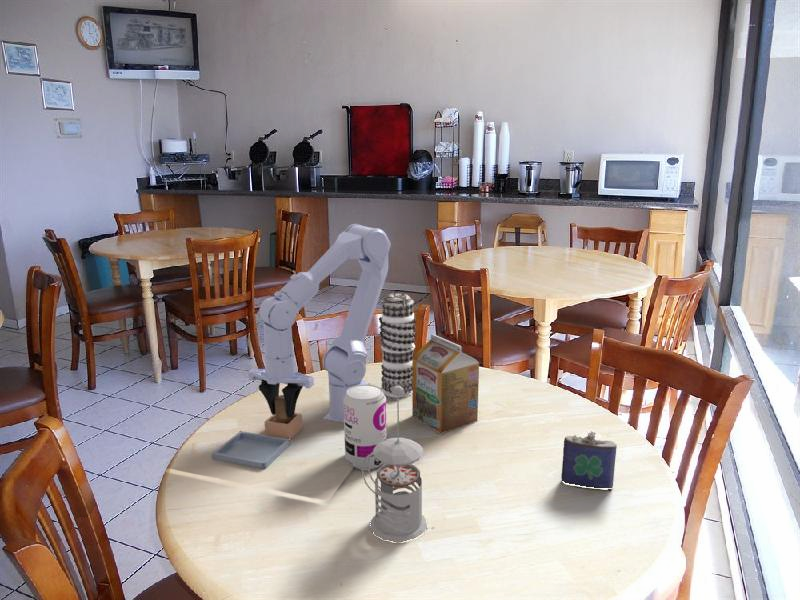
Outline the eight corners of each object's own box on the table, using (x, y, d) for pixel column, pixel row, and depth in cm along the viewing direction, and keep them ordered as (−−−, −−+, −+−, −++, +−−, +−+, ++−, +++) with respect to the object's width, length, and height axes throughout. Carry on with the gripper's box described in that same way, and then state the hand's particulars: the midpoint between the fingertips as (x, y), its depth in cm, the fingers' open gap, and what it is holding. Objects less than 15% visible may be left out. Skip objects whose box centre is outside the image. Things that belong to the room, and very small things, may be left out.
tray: (290, 447, 127) (290, 439, 126) (265, 471, 118) (264, 463, 117) (240, 438, 131) (240, 430, 130) (212, 461, 122) (211, 453, 121)
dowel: (294, 429, 133) (292, 396, 131) (287, 436, 130) (284, 402, 128) (281, 427, 134) (279, 394, 132) (273, 434, 131) (271, 400, 129)
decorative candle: (409, 400, 148) (409, 302, 142) (374, 395, 152) (372, 298, 145) (421, 386, 157) (422, 292, 150) (388, 381, 160) (387, 289, 153)
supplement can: (393, 455, 123) (392, 387, 119) (374, 475, 116) (373, 403, 112) (358, 447, 127) (356, 380, 123) (338, 466, 120) (335, 396, 116)
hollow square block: (302, 430, 134) (301, 413, 133) (289, 442, 129) (288, 425, 128) (279, 426, 136) (278, 410, 135) (265, 438, 131) (264, 421, 129)
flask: (612, 484, 113) (617, 432, 110) (613, 493, 110) (618, 439, 107) (561, 477, 115) (564, 426, 112) (560, 485, 113) (564, 433, 110)
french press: (408, 551, 95) (408, 404, 89) (349, 527, 101) (344, 388, 95) (438, 518, 103) (440, 382, 97) (381, 497, 109) (379, 367, 103)
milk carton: (477, 420, 138) (479, 341, 133) (440, 433, 132) (441, 351, 127) (448, 404, 146) (449, 329, 141) (412, 415, 141) (412, 338, 136)
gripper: (238, 357, 126) (243, 417, 130) (301, 365, 121) (304, 427, 125) (256, 346, 132) (261, 403, 136) (317, 353, 128) (319, 412, 131)
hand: (283, 413), depth 131 cm, fingers closed on dowel, 3 cm apart
